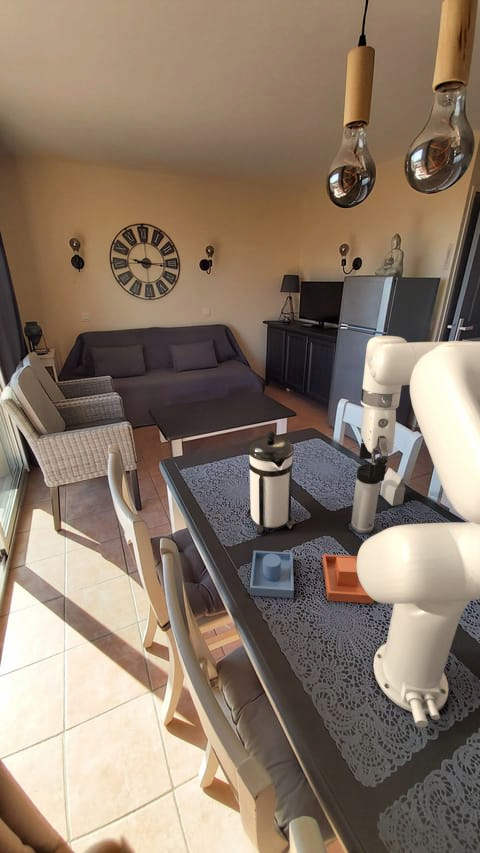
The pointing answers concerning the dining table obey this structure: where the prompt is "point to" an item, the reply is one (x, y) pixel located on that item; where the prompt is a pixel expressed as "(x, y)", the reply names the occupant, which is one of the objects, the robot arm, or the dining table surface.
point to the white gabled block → (393, 488)
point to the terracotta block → (346, 572)
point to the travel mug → (364, 501)
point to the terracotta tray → (342, 592)
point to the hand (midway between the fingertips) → (370, 468)
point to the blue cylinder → (271, 567)
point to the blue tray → (276, 588)
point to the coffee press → (270, 481)
